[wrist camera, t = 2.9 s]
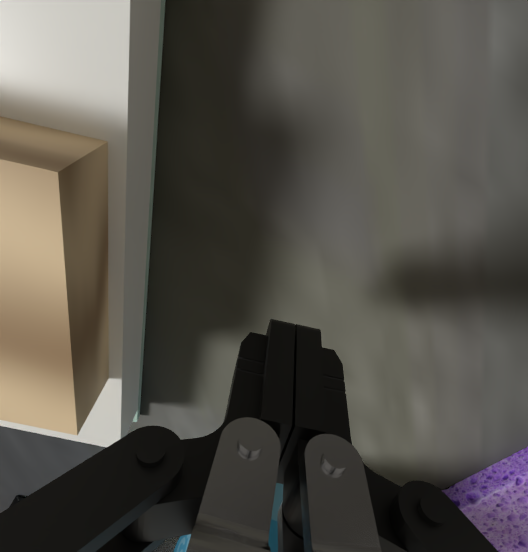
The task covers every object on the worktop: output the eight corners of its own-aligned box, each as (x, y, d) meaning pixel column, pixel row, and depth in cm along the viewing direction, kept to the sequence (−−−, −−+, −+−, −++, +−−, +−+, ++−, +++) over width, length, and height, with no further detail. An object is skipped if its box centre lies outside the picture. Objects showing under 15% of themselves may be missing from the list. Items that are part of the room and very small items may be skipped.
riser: (-170, -147, 9) (-285, -187, 8) (164, -61, 10) (132, -80, 8) (-28, 375, 19) (-64, 412, 17) (137, 409, 20) (120, 450, 18)
